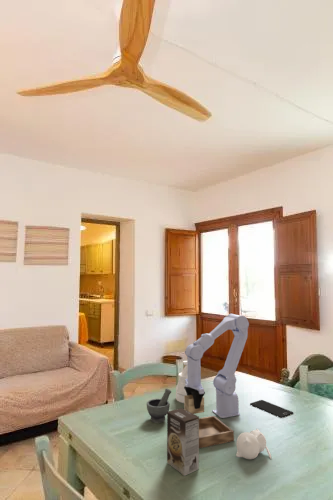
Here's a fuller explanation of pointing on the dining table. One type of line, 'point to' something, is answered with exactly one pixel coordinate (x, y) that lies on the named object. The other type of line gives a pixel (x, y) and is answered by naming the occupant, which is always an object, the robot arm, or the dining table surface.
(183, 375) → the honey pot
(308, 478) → the dining table surface
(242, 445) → the cat figurine
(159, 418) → the mortar and pestle
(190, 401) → the small crate
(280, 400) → the dining table surface
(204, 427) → the large crate
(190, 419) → the coffee box
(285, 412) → the cell phone
